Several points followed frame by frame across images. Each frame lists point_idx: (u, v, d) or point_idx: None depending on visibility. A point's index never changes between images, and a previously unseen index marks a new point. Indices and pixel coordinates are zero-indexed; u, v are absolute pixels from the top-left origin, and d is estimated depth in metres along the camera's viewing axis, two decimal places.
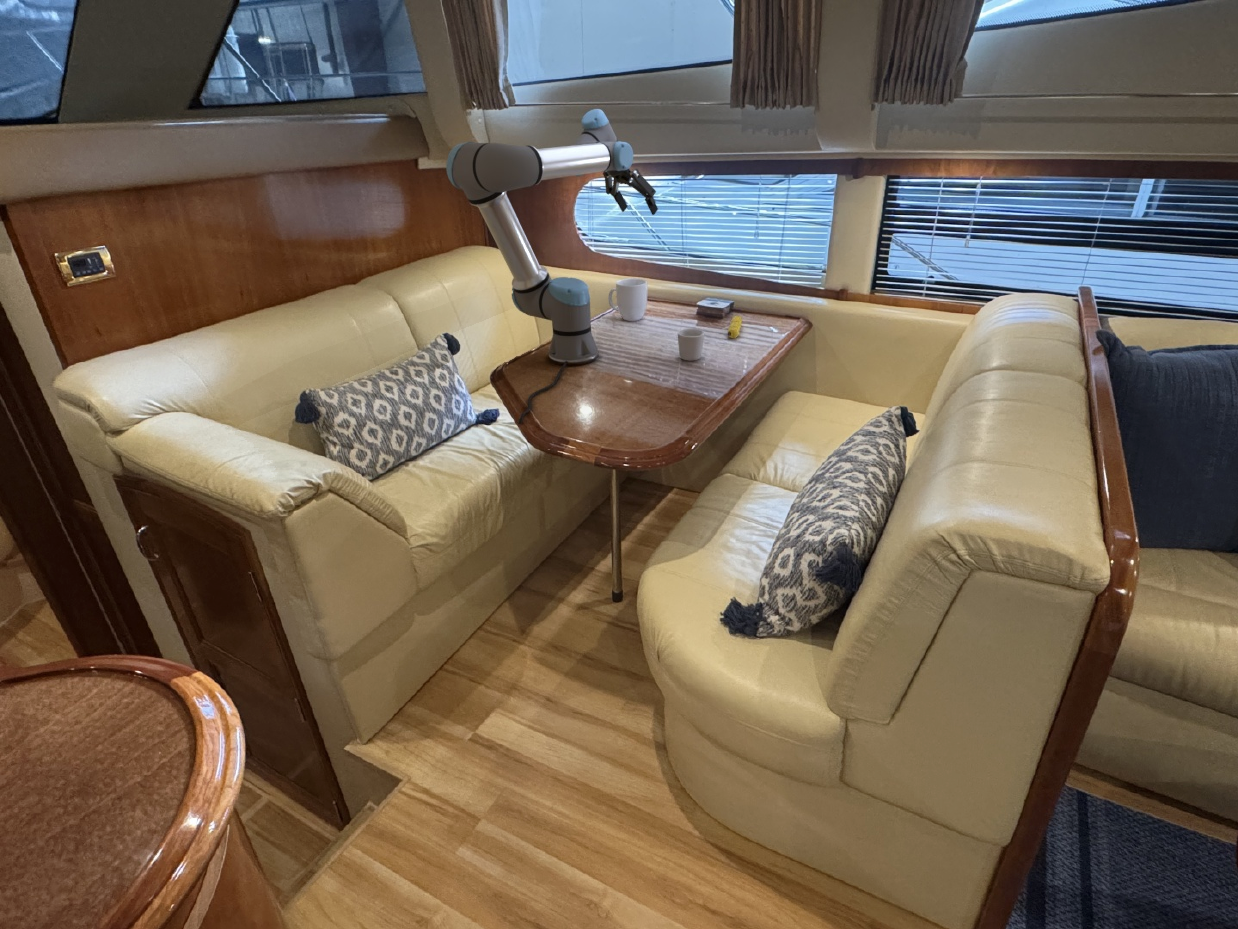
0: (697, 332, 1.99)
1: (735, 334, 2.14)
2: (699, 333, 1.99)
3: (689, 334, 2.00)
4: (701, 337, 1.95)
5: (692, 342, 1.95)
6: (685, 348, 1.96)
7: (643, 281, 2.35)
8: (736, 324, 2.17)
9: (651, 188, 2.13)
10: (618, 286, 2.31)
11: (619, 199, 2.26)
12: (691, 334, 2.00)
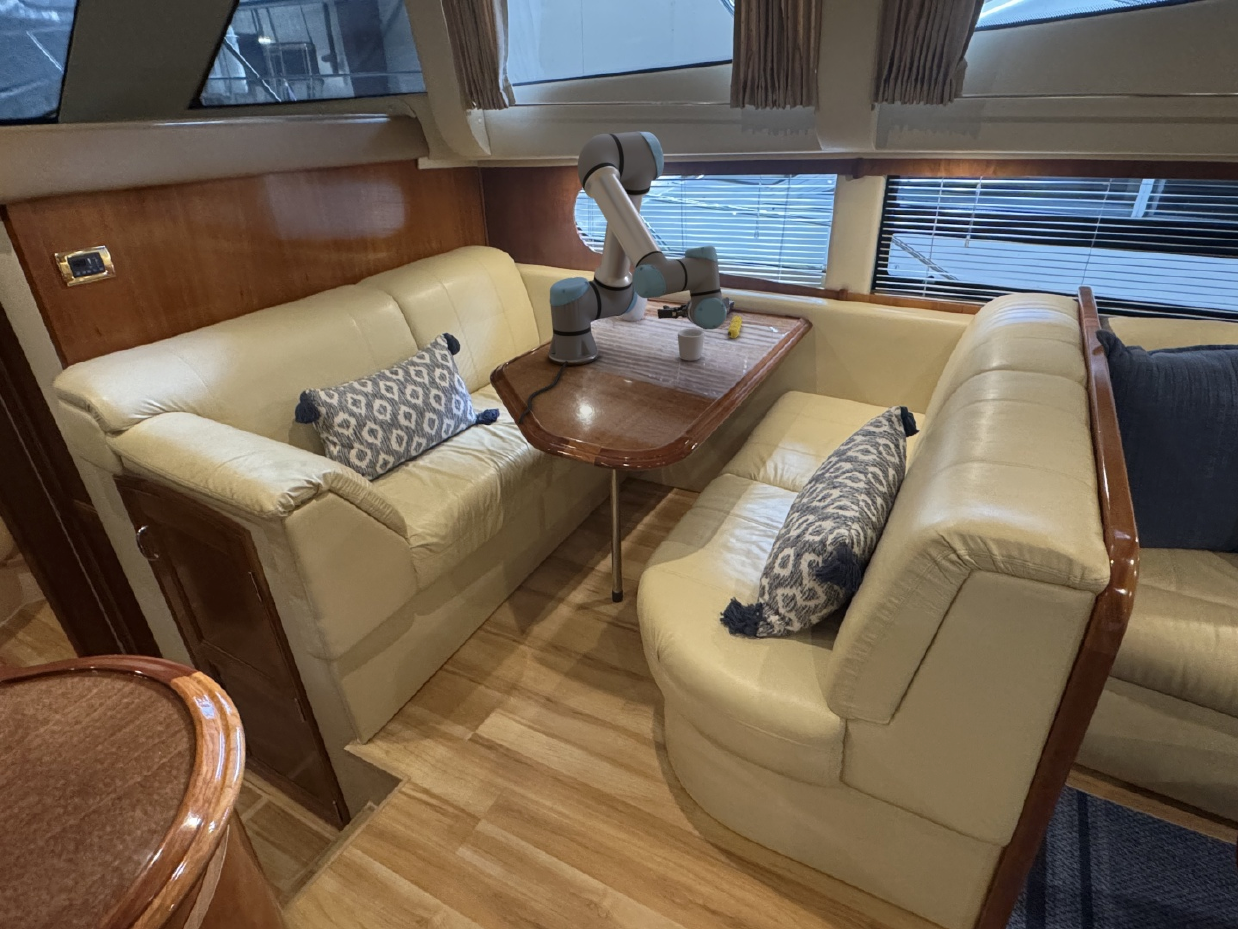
0: (697, 332, 1.99)
1: (735, 334, 2.14)
2: (699, 333, 1.99)
3: (689, 334, 2.00)
4: (701, 337, 1.95)
5: (692, 342, 1.95)
6: (685, 348, 1.96)
7: None
8: (736, 324, 2.17)
9: (661, 316, 1.84)
10: None
11: None
12: (691, 334, 2.00)
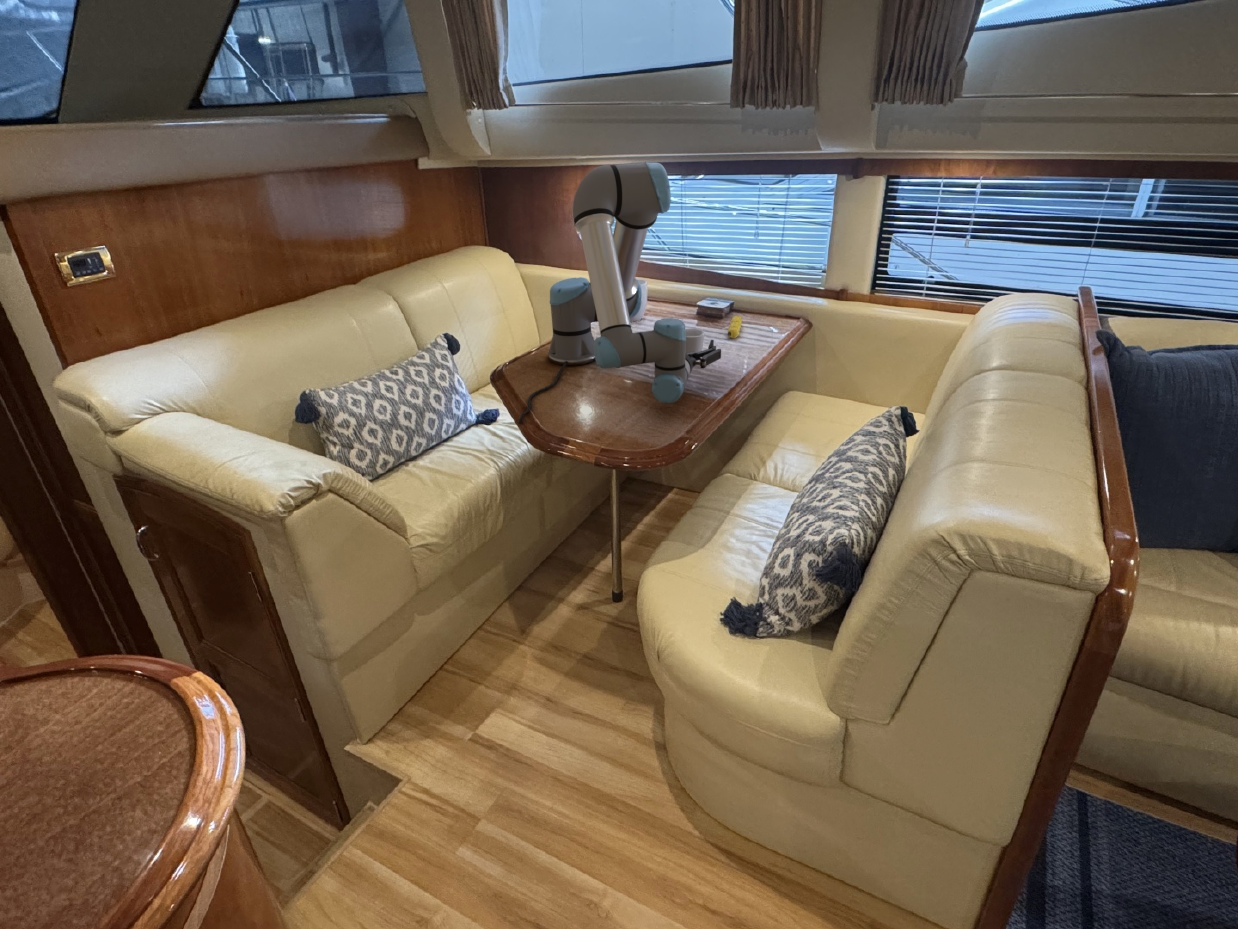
0: (697, 332, 1.99)
1: (735, 334, 2.14)
2: (699, 333, 1.99)
3: (689, 334, 2.00)
4: (701, 337, 1.95)
5: (692, 342, 1.95)
6: None
7: (643, 281, 2.35)
8: (736, 324, 2.17)
9: None
10: None
11: None
12: (691, 334, 2.00)
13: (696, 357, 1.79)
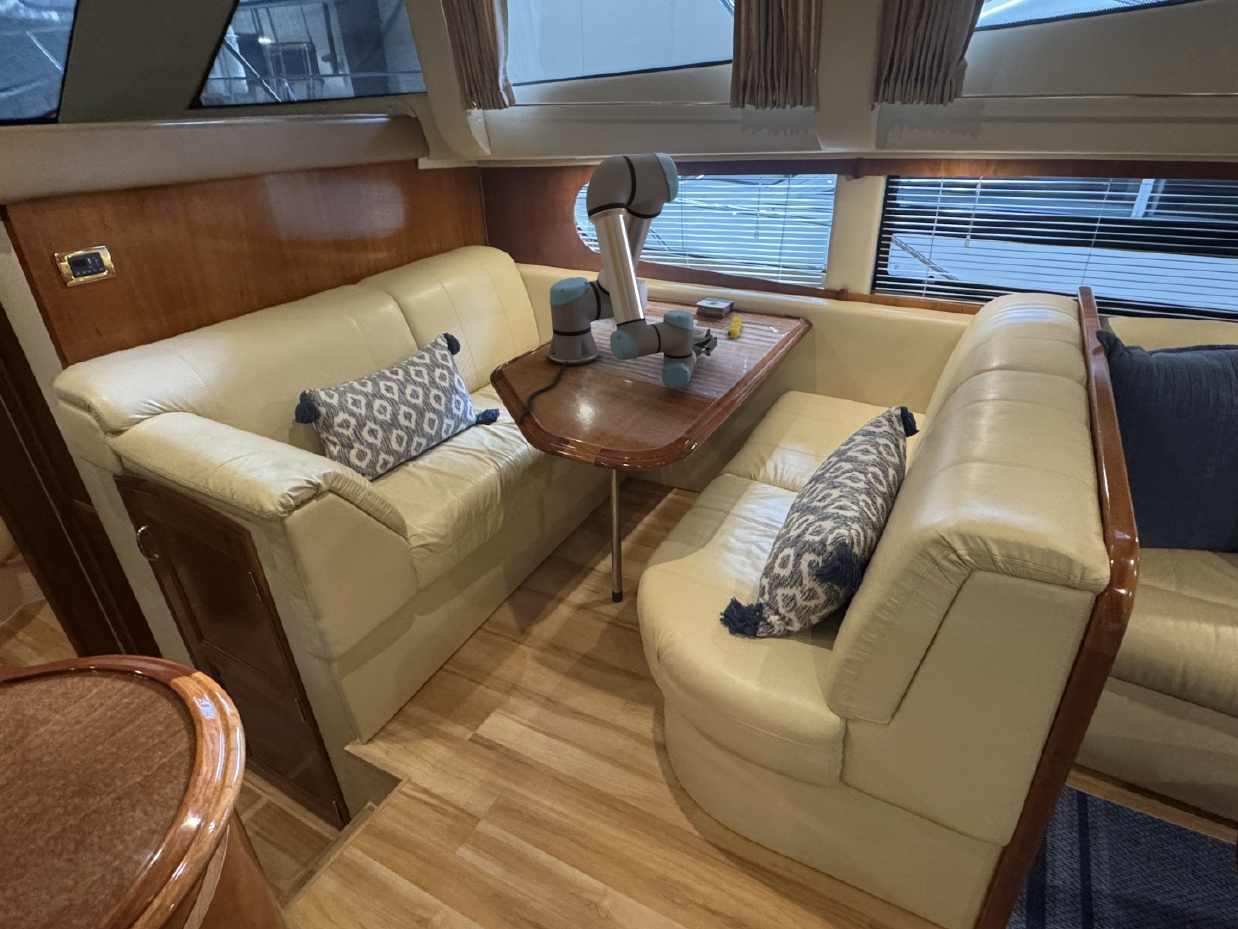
0: (698, 332, 1.99)
1: (735, 334, 2.14)
2: (700, 333, 1.99)
3: None
4: (702, 337, 1.95)
5: (693, 341, 1.95)
6: None
7: (643, 281, 2.35)
8: (736, 324, 2.17)
9: None
10: None
11: None
12: None
13: (699, 346, 1.91)
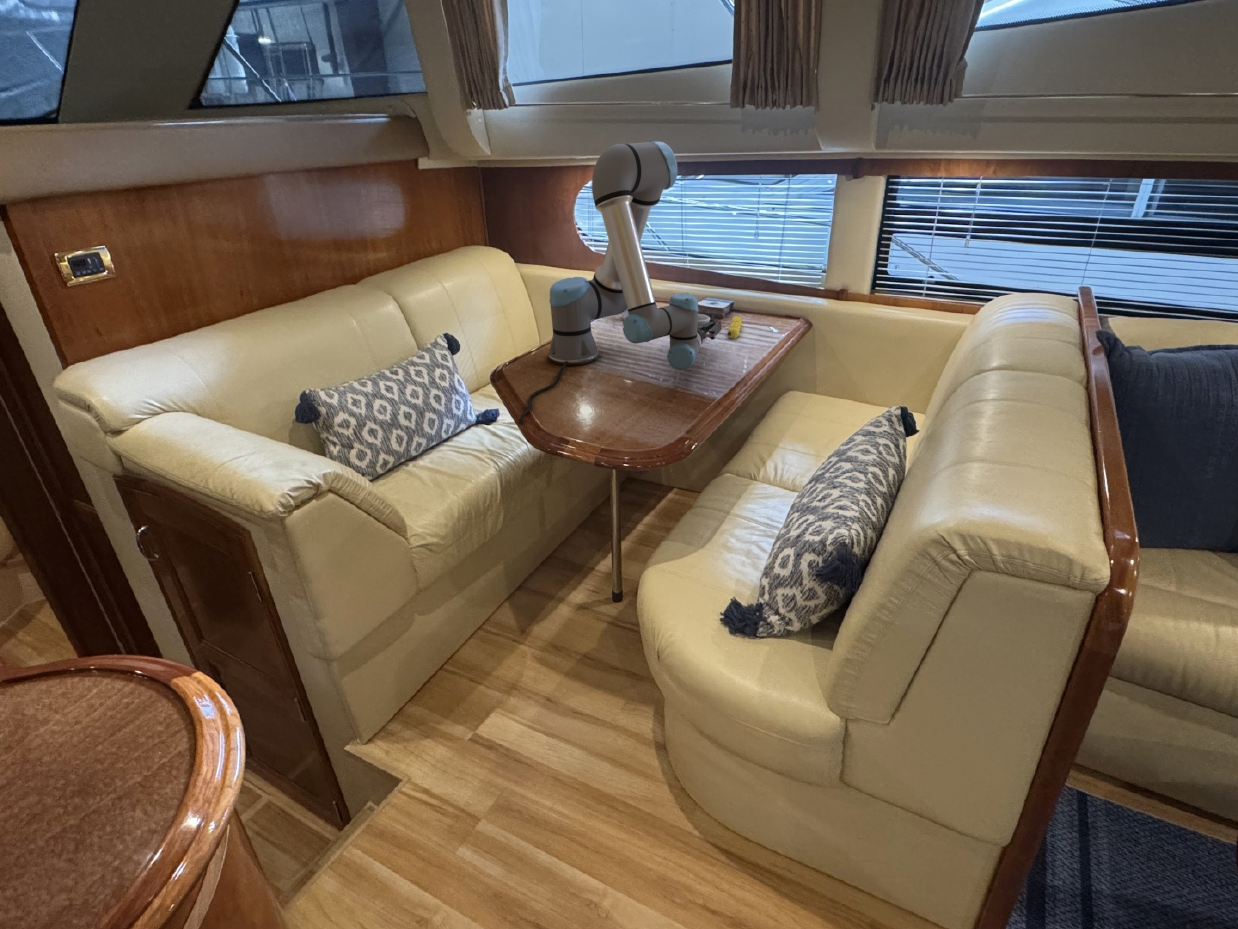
0: (703, 317, 2.06)
1: (735, 334, 2.14)
2: (705, 318, 2.06)
3: None
4: (707, 322, 2.02)
5: None
6: None
7: None
8: (736, 324, 2.17)
9: None
10: None
11: None
12: None
13: (704, 330, 1.98)
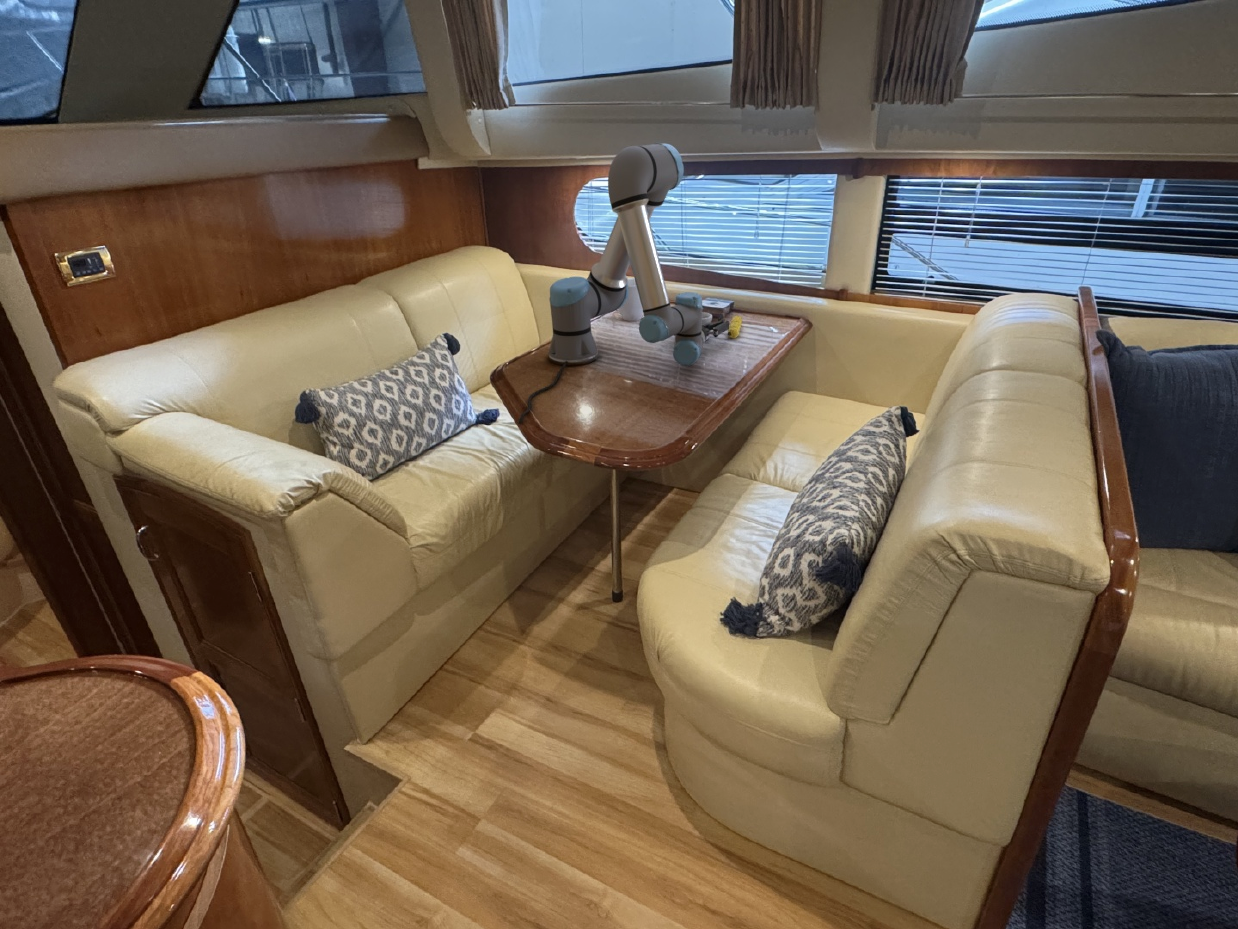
0: (705, 315, 2.15)
1: (735, 334, 2.14)
2: (707, 316, 2.14)
3: None
4: (709, 319, 2.10)
5: None
6: None
7: None
8: (736, 324, 2.17)
9: None
10: None
11: None
12: None
13: (709, 328, 2.06)
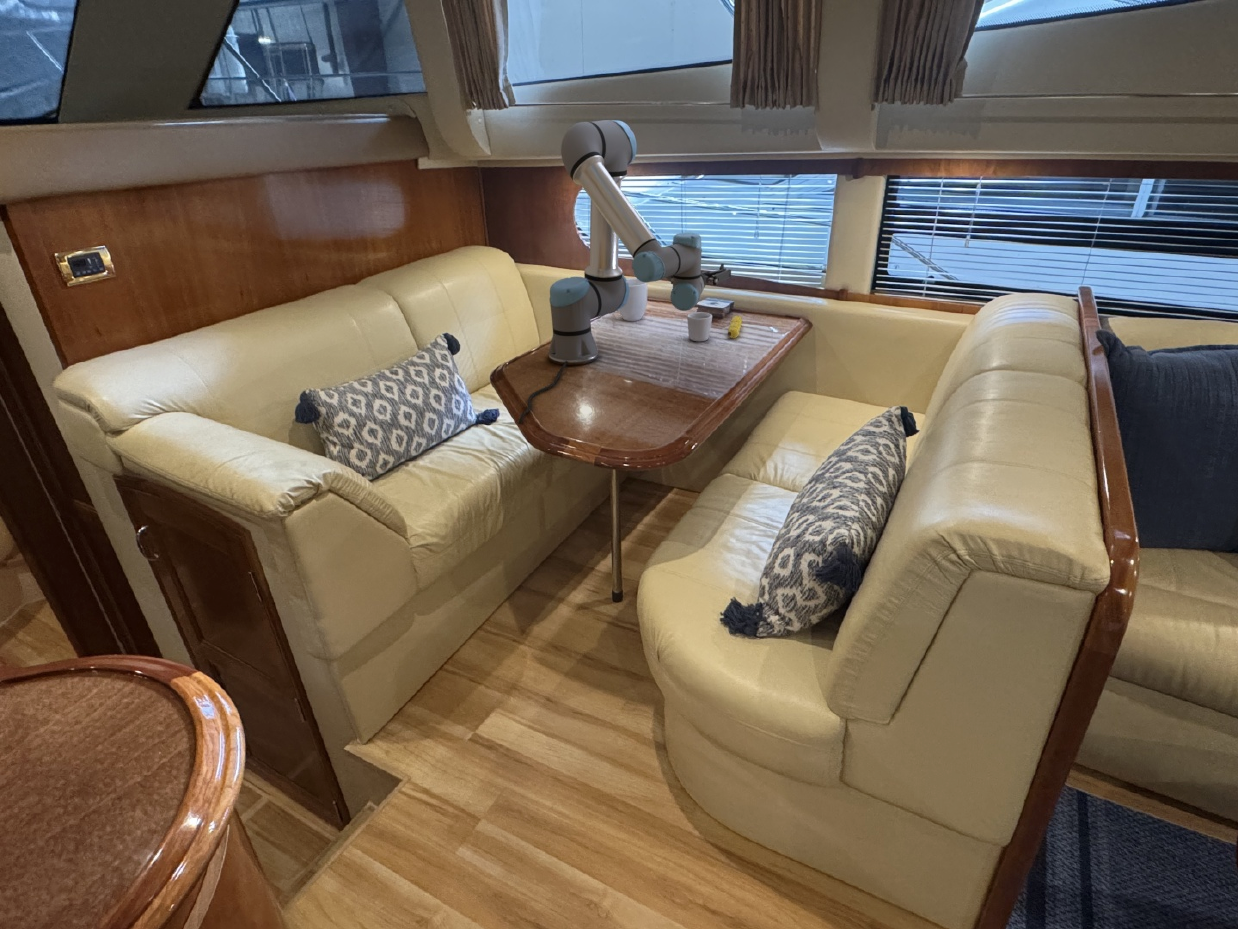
0: (705, 315, 2.15)
1: (735, 334, 2.14)
2: (707, 316, 2.14)
3: (698, 317, 2.16)
4: (709, 319, 2.10)
5: (701, 324, 2.10)
6: (694, 329, 2.11)
7: None
8: (736, 324, 2.17)
9: None
10: None
11: None
12: (700, 317, 2.16)
13: (708, 276, 1.97)
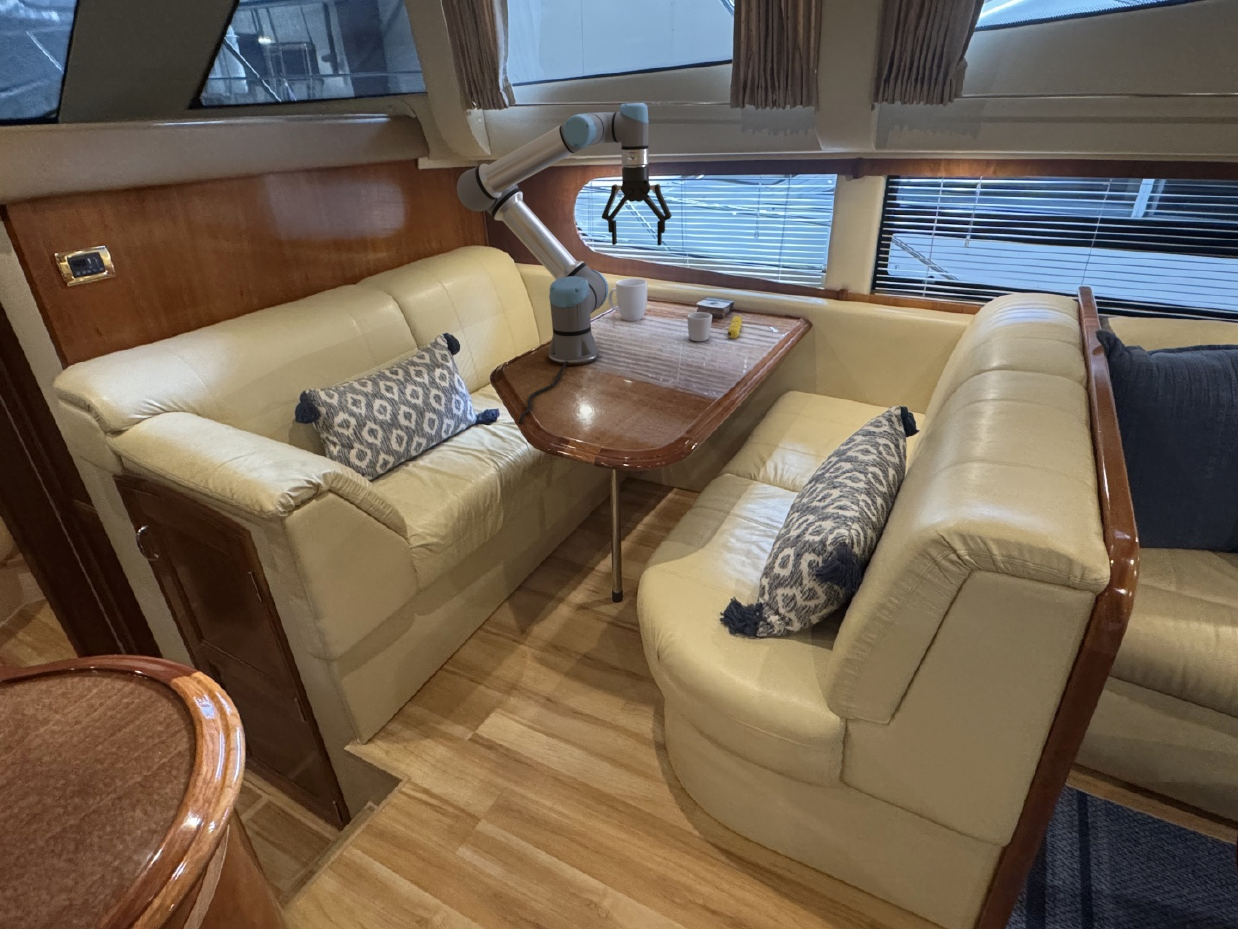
0: (705, 315, 2.15)
1: (735, 334, 2.14)
2: (707, 316, 2.14)
3: (698, 317, 2.16)
4: (709, 319, 2.10)
5: (701, 324, 2.10)
6: (694, 329, 2.11)
7: (643, 281, 2.35)
8: (736, 324, 2.17)
9: None
10: (618, 286, 2.31)
11: None
12: (700, 317, 2.16)
13: (649, 198, 1.89)
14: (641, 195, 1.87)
